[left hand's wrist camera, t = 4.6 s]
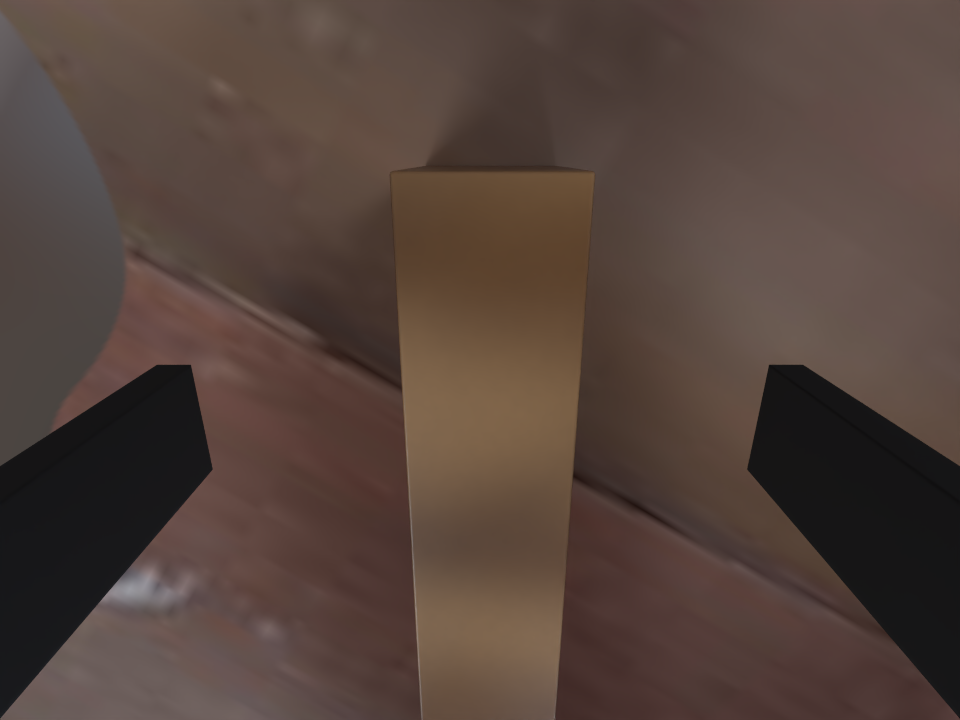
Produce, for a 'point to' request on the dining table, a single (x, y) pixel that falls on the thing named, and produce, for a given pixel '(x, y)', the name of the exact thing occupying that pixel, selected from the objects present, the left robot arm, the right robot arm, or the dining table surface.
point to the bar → (490, 423)
